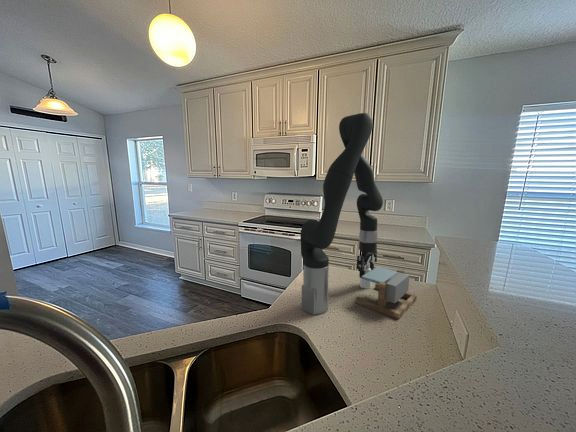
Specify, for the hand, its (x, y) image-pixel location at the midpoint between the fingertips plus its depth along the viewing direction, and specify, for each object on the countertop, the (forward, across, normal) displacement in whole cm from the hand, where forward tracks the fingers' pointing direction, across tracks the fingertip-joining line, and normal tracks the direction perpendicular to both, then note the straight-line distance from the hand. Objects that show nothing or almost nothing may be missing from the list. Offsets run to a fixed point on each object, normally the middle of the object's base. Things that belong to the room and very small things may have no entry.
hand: (366, 274), depth 109 cm
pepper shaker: (+6, 0, 0) cm, 6 cm away
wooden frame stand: (+5, +7, +12) cm, 15 cm away
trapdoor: (+1, +7, +11) cm, 14 cm away
